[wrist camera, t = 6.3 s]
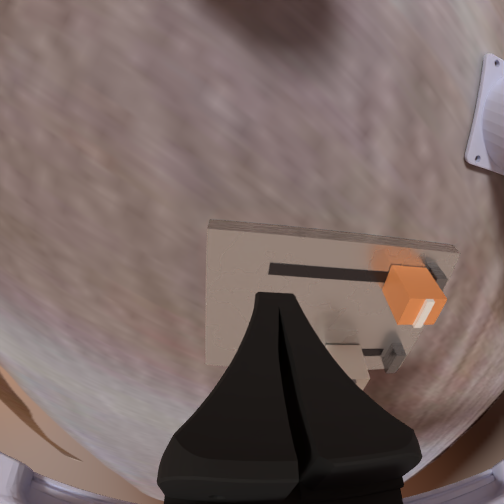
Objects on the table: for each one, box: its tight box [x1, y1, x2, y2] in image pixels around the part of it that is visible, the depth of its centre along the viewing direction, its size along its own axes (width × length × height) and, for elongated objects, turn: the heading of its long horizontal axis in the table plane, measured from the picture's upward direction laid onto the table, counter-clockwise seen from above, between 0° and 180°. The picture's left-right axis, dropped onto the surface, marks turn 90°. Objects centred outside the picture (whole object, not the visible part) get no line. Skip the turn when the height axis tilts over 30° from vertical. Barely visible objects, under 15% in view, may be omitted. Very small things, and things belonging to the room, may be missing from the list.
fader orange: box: [382, 265, 447, 328], centre depth 20 cm, size 3×2×4 cm
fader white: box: [325, 345, 370, 390], centre depth 24 cm, size 3×2×4 cm
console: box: [205, 220, 460, 373], centre depth 23 cm, size 18×13×3 cm
